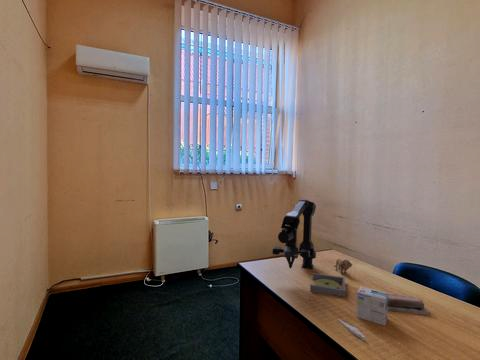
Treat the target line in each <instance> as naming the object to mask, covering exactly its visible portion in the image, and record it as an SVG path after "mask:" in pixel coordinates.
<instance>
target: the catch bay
mask: <svg viewBox="0 0 480 360" xmlns="http://www.w3.org/2000/svg"><path fill="white" fill-rule="evenodd" d="M319 279H329V280H333V281H335V282H337V283H338V284H342V288H338V287H337V288H330V287H324V286H318V285H317V284H310V285H309V286H310V288H309V292H312V293H317V294H323V295H324V294H325V295H330V296H331V295H332V296H338V297H344V298H345V297H346V279H345V277H344V276H336V275H331V274H330V275H327V274H322V273H315V272H313V273H312V280H315V281H316V280H319Z"/></svg>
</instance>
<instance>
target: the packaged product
mask: <svg viewBox="0 0 480 360" xmlns="http://www.w3.org/2000/svg"><path fill="white" fill-rule="evenodd" d="M387 311H391V312H399V313H406V314H412V313H413V314H414V315H424V316H430V312H429V310H428V309H427V308H426V307H425V303H424V301H423V300H422V299H421V298H419V297H418V296H417V297H416V296H409V295H408V296H407V295H400V294H393V293H388V310H387Z"/></svg>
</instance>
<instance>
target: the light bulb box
mask: <svg viewBox="0 0 480 360" xmlns="http://www.w3.org/2000/svg"><path fill="white" fill-rule="evenodd" d="M388 294H389V293H388V292H385V291H383V290H382V291H381V290H377V289H373V288H368V287H364V286H359V288H358V289H357V292H356V316H355V317H356V318H359V319H361V320H365V321H368V322H372V323H375V324H378V325H382V326H386V324H387V321H388V311H389V310H388Z"/></svg>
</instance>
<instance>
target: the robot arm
mask: <svg viewBox="0 0 480 360" xmlns="http://www.w3.org/2000/svg"><path fill="white" fill-rule="evenodd" d="M316 208H317V205H316V203H314V202H313V201H310V200H309V199H302V198H300V199H299V200H298V202H297V204H296V205H295V206H294V208H293V209H292V211H290V212H289V211H288V212H287V213H286V214H285V216H284V217H283V220H282V223H281V226H280V229H281V231H280V232H279V233H278V235H277V239H278V241H279V243H282V244H285V245H284V248H282V246H274V247H273V248H272V253H271V254H272V255H276V256H277V255H278V256H279V255H280V254H281V253H282V254H283V255H282V257H283V258H285V259H286V261H287V265H288V267H289V269H292V268H293V264H294V262H295V260H296V259H298V258H299V257H301V258H302V265H301V268H304V269H313V268H314V264H313V259H316V258H317V253H316V250H315V248H314V247H315V245H314V243H313V242H312V228H313V227H312V224H313V223H312V222H313V221H312V220H313V219H312V218H313V216H314V214H315V213H316ZM301 216H303V228H302V229H303V230H302V235H303V236H302V241H301V243H300V244H299V246H298V247H297V245H298V240H297V239H298V238H297V237H298V228H299V226H300V223H301V219H300V217H301Z"/></svg>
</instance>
